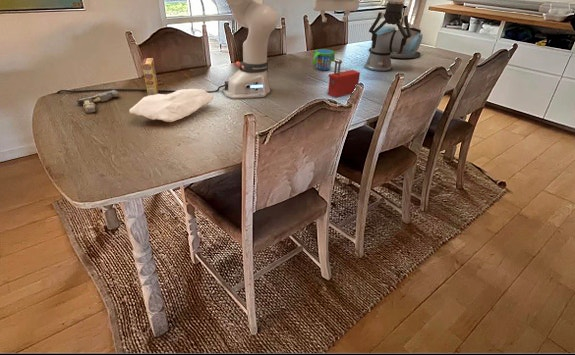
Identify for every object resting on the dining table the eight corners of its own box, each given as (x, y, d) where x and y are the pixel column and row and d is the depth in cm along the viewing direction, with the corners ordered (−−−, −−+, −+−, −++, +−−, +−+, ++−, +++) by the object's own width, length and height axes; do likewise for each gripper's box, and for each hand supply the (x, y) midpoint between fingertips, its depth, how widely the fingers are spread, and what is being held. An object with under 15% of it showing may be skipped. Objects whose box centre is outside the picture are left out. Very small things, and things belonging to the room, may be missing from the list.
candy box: (157, 97, 164) (152, 63, 155) (147, 98, 163) (141, 63, 155) (158, 91, 171) (153, 57, 163) (149, 91, 170) (143, 58, 162)
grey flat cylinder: (430, 54, 248) (433, 40, 243) (396, 60, 230) (398, 45, 226) (391, 47, 273) (393, 34, 268) (357, 52, 255) (359, 38, 251)
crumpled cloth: (117, 110, 146) (113, 90, 140) (195, 92, 166) (194, 73, 160) (143, 139, 134) (140, 118, 128) (223, 116, 154) (224, 96, 148)
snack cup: (328, 65, 219) (329, 47, 214) (339, 69, 212) (341, 51, 206) (307, 68, 212) (308, 50, 206) (318, 73, 204) (319, 54, 199)
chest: (334, 97, 173) (336, 79, 168) (327, 94, 176) (329, 76, 172) (357, 92, 180) (359, 74, 175) (350, 89, 184) (352, 72, 179)
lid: (335, 79, 168) (337, 61, 163) (328, 76, 171) (330, 58, 167) (359, 74, 175) (362, 57, 171) (352, 71, 179) (354, 54, 174)
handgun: (128, 97, 156) (111, 87, 164) (86, 107, 144) (70, 97, 152) (129, 103, 157) (113, 94, 165) (88, 114, 146) (72, 103, 154)
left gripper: (316, -13, 149) (314, 23, 157) (362, -13, 154) (358, 22, 161) (312, -15, 154) (310, 20, 162) (356, -14, 159) (352, 20, 166)
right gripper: (366, 0, 168) (360, 47, 180) (421, 6, 158) (410, 55, 170) (371, -2, 174) (365, 44, 185) (424, 4, 164) (414, 52, 175)
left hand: (334, 21), depth 162 cm, fingers open, 8 cm apart
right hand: (386, 50), depth 177 cm, fingers open, 13 cm apart
